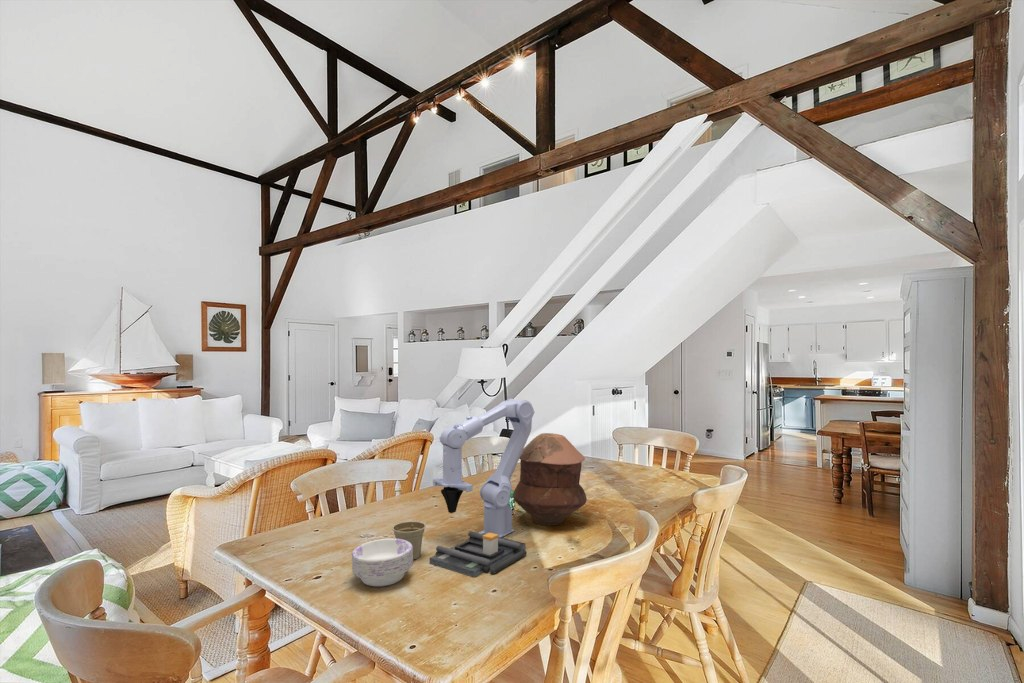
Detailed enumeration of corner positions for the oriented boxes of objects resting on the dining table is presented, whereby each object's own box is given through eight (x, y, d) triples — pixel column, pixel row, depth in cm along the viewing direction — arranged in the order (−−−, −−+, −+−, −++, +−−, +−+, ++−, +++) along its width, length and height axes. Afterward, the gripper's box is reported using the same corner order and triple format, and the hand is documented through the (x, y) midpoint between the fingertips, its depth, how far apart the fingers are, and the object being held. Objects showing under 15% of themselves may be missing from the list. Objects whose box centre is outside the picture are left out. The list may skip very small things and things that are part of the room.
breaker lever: (489, 550, 145) (489, 532, 145) (498, 552, 143) (498, 534, 144) (482, 553, 143) (482, 535, 143) (491, 556, 141) (491, 537, 141)
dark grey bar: (471, 540, 158) (471, 529, 158) (521, 553, 147) (521, 542, 147) (467, 541, 156) (467, 531, 156) (517, 555, 145) (517, 544, 145)
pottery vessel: (501, 514, 183) (501, 431, 184) (563, 506, 193) (563, 427, 194) (532, 538, 159) (532, 442, 160) (601, 527, 169) (601, 437, 170)
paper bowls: (343, 576, 132) (343, 545, 132) (397, 562, 141) (397, 533, 141) (365, 599, 119) (365, 564, 120) (423, 581, 129) (423, 549, 129)
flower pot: (390, 553, 147) (390, 523, 147) (422, 548, 150) (422, 519, 151) (394, 565, 138) (394, 533, 139) (428, 560, 142) (428, 529, 142)
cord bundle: (469, 540, 157) (469, 530, 157) (526, 555, 145) (526, 544, 145) (434, 557, 144) (434, 546, 144) (493, 575, 132) (493, 563, 132)
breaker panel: (483, 537, 160) (483, 530, 160) (525, 548, 151) (525, 541, 151) (429, 563, 140) (429, 555, 140) (474, 577, 131) (474, 569, 131)
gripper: (425, 466, 156) (425, 511, 156) (462, 472, 148) (461, 519, 148) (441, 462, 162) (441, 505, 162) (477, 468, 154) (476, 513, 154)
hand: (452, 512), depth 155 cm, fingers closed
